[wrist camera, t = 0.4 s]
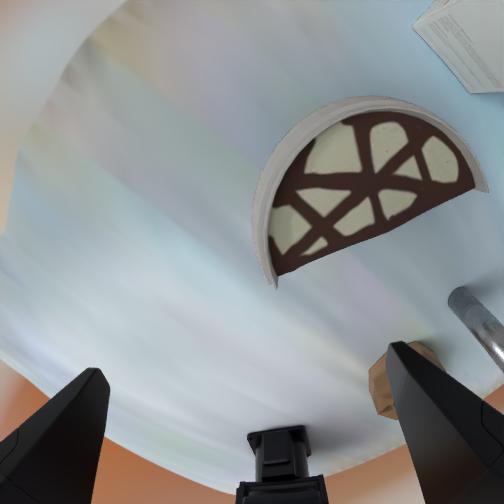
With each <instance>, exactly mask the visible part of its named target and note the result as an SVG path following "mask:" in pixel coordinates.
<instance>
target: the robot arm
mask: <svg viewBox="0 0 504 504" xmlns="http://www.w3.org/2000/svg"><path fill="white" fill-rule="evenodd" d="M385 367H386V372H387V376H388V380H389V384H390V388H391V393H392V397H393V401H394V406H395V410H396V413H397V416H398V419H399V422H400V425H401V428H402V431H403V434H404V436H405V439H406V442H407V445H408V448H409V451H410V454H411V457H412V461H413V464H414V467H415V470H416V473H417V477H418V480H419V483H420V486H421V490H422V493H423V497H424V500H425V504H504V415H503V414H502V413H501V412H499V411H498V410H496V409H495V408H493V407H492V406H491V405H489V404H488V403H486V402H485V401H482V399H481V398H480V397H478V396H477V395H476V394H474V393H473V392H472V391H470V390H469V389H468V388H466V387H465V386H464V385H462V384H461V383H460V382H458V381H457V380H456V379H454V378H453V377H451V376H450V375H449V374H447V373H446V372H445V371H443V370H442V369H441V368H439V367H438V366H436V365H435V364H434V363H432V362H431V361H430V360H428V359H427V358H426V357H424V356H423V355H421V354H420V353H419V352H417V351H416V350H415V349H413V348H412V347H410V346H409V345H408V344H406V343H405V342H403V341H397V342H392V343H390V344H389V346H388V351H387V356H386V362H385ZM109 397H110V385H109V383H108V381H107V380H106V378H105V376H104V375H103V373H102V371H101V370H100V369H99V368H87V369H86V370H84V371H83V372H82V373H81V374H80V375H78V376H77V377H76V378H75V379H74V380H73V381H71V382H70V383H69V384H68V385H67V386H65V387H64V388H63V389H62V390H61V391H60V392H58V393H57V394H56V395H55V396H54V397H53V398H51V399H50V400H49V401H48V402H47V403H46V404H44V405H43V406H42V407H41V408H40V409H39V410H37V411H36V412H35V413H34V414H33V415H32V416H30V417H29V418H28V419H27V420H26V421H25V422H24V423H22V424H21V425H20V426H19V428H17V429H15V430H14V431H13V432H12V433H11V434H10V435H8V436H7V437H6V438H5V439H4V440H2V441H1V442H0V504H91V500H92V494H93V489H94V483H95V477H96V472H97V467H98V462H99V457H100V452H101V447H102V443H103V438H104V433H105V428H106V420H107V412H108V404H109ZM247 440H248V442H249V444H250V446H251V448H252V450H253V452H254V454H255V457H256V482H245V481H244V482H240V485H239V487H238V488H237V489H236V502H235V504H329V502H328V497H327V492H326V487H325V482H324V477H323V474H321V475H318V476H312V477H309V472H308V463H307V457H309V456H310V455H311V450H310V446H309V442H308V438H307V433H306V429H305V427H304V426H297V427H291V428H285V429H279V430H273V431H266V432H259V433H251V434H248V435H247Z"/></svg>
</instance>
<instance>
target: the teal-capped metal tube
mask: <svg viewBox="0 0 504 504" xmlns="http://www.w3.org/2000/svg"><path fill="white" fill-rule="evenodd" d="M448 306H449V308H450V309H451V310H452V311H453V312H454V313H455V314H456V316H457V317H458V318H459V319H460V320H461V321H462V322H463V324H464V325H465V326H466V327H467V328H468V329H469V331H470V332H471V333H472V334H473V335H474V337H475V338H476V339H477V340H478V341H479V343H480V344H481V345H482V346H483V347H484V349H485V350H486V351H487V352H488V354H489V355H490V356H491V357H492V359H493V360H494V361H495V362H496V364H497V365H498V366H499V368H500V369H501V370H502V371H503V373H504V326H503V325H502V324H501V323H500V322H499V321H498V319H497V318H496V317H495V316H494V315H493V314H492V313H491V312H490V311H489V310H488V309H487V308H486V307H485V306H484V305H483V304H482V303H480V302H479V301H478V300H477V299H476V298H475V297H474V296H473V295H472V294H471V293H470V292H469V291H468V290H467V289H466V288H464V287H459V288H457V289H455V290H454V291H453V292H452V293H451V295H450V296H449V299H448Z"/></svg>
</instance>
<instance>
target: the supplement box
mask: <svg viewBox="0 0 504 504" xmlns="http://www.w3.org/2000/svg"><path fill="white" fill-rule="evenodd" d="M412 28H413V29H414V30H415V31H416V32H417V33H418V34H419V35H420V36H421V37H422V38H423V39H424V40H425V42H426V43H427V44H428V45H429V46H430V47H431V48H432V49H433V50H434V51H435V52H436V53H437V55H438V56H439V57H440V58H441V59H442V60H443V61H444V63H445V64H446V65H447V66H448V67H449V68H450V70H451V71H452V72H453V73H454V74H455V76H456V77H457V78H458V79H459V81H460V82H461V83H462V84H463V86H464V87H465V88H466V90H467V91H468V92H469V93H470V94H473V93H492V92H504V0H436V1H435V2H434V3H433V4H432V5H431V6H430V7H429V8H428V9H427V10H426V11H425V12H424V13H423V14H422V15H421V16H420V17H419V19H418V20H417V21H416V22H415V23H414V24H413V25H412Z"/></svg>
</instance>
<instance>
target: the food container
mask: <svg viewBox="0 0 504 504" xmlns="http://www.w3.org/2000/svg"><path fill="white" fill-rule="evenodd" d="M471 189H475V190H479V191H482V192H485V193H489V190H488V186H487V182H486V179H485V176H484V173H483V171H482V168H481V166H480V164H479V161H478V160H477V158H476V156H475V155H474V153H473V152H472V150H471V148H470V147H469V146H468V144H467V143H466V142H465V141H464V140H463V139H462V138H461V137H460V135H459V134H458V133H457V132H456V131H455V130H454V129H453V128H452V127H451V126H450V125H448V124H447V123H446V122H445V121H443V120H442V119H441V118H439V117H438V116H436V115H435V114H433V113H431V112H429V111H427V110H425V109H423V108H421V107H418V106H416V105H413V104H411V103H408V102H405V101H401V100H398V99H394V98H391V97H381V96H361V97H351V98H347V99H344V100H340V101H337V102H333V103H331V104H329V105H326V106H324V107H322V108H320V109H318V110H316V111H314V112H313V113H311V114H310V115H308V116H307V117H306V118H304V119H303V120H302V121H300V122H299V123H298V124H296V125H295V126H294V127H293V128H292V129H291V130H290V131H289V132H288V133H287V134H286V135H285V137H284V138H283V139H282V140H281V141H280V142H279V144H278V145H277V147H276V148H275V150H274V151H273V153H272V154H271V156H270V157H269V159H268V161H267V163H266V165H265V167H264V169H263V172H262V174H261V176H260V178H259V182H258V185H257V189H256V192H255V196H254V201H253V210H252V237H253V243H254V248H255V252H256V257H257V260H258V262H259V265H260V267H261V270H262V272H263V275H264V276H265V278H266V280H267V282H268V284H269V285H271V284H273V285H274V287H275V290H277V287H278V276H281V275H283V274H285V273H288V272H292V271H294V270H296V269H297V268H299V267H301V266H303V265H305V264H307V263H309V262H312V261H314V260H317V259H319V258H321V257H324V256H326V255H329V254H331V253H333V252H336V251H339V250H341V249H344V248H346V247H349V246H351V245H354V244H357V243H360V242H363V241H365V240H368V239H371V238H374V237H376V236H379V235H381V234H384V233H387V232H389V231H391V230H393V229H395V228H397V227H399V226H401V225H402V224H404V223H406V222H408V221H410V220H411V219H413V218H415V217H417V216H419V215H420V214H422V213H424V212H426V211H428V210H430V209H432V208H434V207H436V206H438V205H440V204H442V203H444V202H446V201H448V200H451V199H453V198H455V197H457V196H459V195H461V194H463V193H465V192H467V191H469V190H471Z"/></svg>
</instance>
